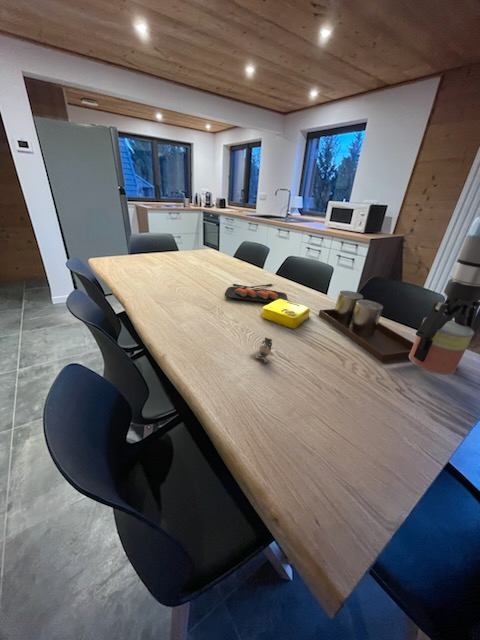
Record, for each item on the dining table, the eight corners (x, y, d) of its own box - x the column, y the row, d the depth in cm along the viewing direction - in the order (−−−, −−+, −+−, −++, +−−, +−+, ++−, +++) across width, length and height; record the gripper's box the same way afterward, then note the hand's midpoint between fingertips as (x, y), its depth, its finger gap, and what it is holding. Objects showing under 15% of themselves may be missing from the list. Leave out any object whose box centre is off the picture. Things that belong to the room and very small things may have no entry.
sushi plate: (222, 299, 120) (223, 291, 118) (233, 280, 146) (233, 274, 145) (287, 307, 117) (288, 299, 115) (285, 286, 144) (286, 280, 142)
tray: (420, 357, 87) (424, 349, 86) (380, 364, 82) (383, 355, 80) (351, 314, 116) (353, 307, 114) (318, 316, 110) (319, 309, 109)
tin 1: (360, 323, 106) (368, 298, 101) (342, 325, 103) (349, 299, 98) (345, 314, 113) (352, 290, 109) (328, 315, 110) (334, 290, 106)
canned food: (460, 366, 75) (480, 328, 70) (446, 380, 68) (467, 340, 63) (417, 348, 83) (432, 313, 77) (401, 359, 76) (416, 321, 71)
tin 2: (379, 335, 97) (389, 308, 92) (359, 338, 94) (368, 310, 90) (362, 324, 105) (370, 299, 100) (343, 326, 102) (351, 300, 97)
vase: (262, 350, 84) (264, 333, 81) (276, 357, 81) (279, 340, 78) (251, 356, 80) (253, 339, 77) (266, 364, 77) (269, 346, 74)
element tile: (309, 317, 109) (312, 306, 107) (294, 329, 98) (296, 318, 96) (278, 307, 117) (279, 296, 115) (260, 317, 106) (261, 306, 104)
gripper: (482, 276, 72) (449, 345, 81) (419, 279, 65) (391, 354, 74) (515, 284, 66) (475, 358, 75) (449, 289, 58) (414, 370, 68)
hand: (433, 356), depth 75 cm, fingers closed on canned food, 11 cm apart
